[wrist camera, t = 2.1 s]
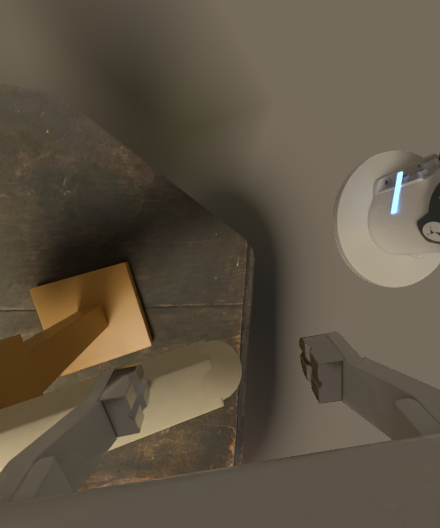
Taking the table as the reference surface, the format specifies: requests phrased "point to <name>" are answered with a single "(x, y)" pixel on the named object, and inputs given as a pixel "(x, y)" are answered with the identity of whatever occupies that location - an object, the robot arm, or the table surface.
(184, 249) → the table surface
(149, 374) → the switch rod
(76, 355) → the desk lamp
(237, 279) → the table surface
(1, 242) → the table surface
